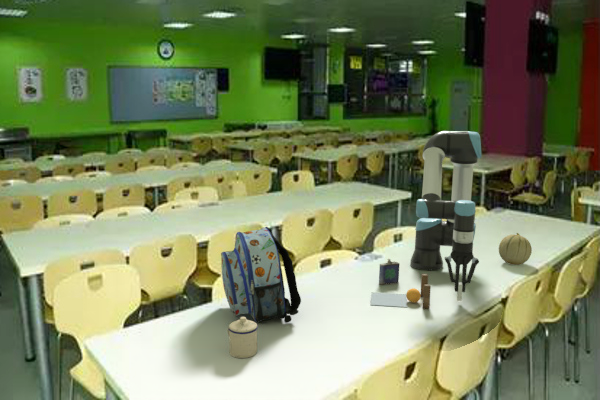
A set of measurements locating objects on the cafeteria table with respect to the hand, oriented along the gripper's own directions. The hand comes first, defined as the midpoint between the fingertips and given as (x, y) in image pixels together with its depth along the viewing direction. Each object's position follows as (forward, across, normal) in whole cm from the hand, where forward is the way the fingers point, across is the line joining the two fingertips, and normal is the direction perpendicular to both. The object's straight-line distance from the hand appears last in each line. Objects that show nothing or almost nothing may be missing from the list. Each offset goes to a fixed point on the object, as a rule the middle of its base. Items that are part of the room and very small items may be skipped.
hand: (459, 299), depth 219 cm
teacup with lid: (+2, -74, -53) cm, 91 cm away
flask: (+2, -27, +20) cm, 34 cm away
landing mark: (+2, -27, 0) cm, 27 cm away
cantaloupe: (+2, +33, +58) cm, 67 cm away
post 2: (+2, -13, -6) cm, 15 cm away
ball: (-1, -18, -1) cm, 18 cm away
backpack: (+2, -77, -20) cm, 79 cm away
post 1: (+2, -13, +6) cm, 15 cm away
